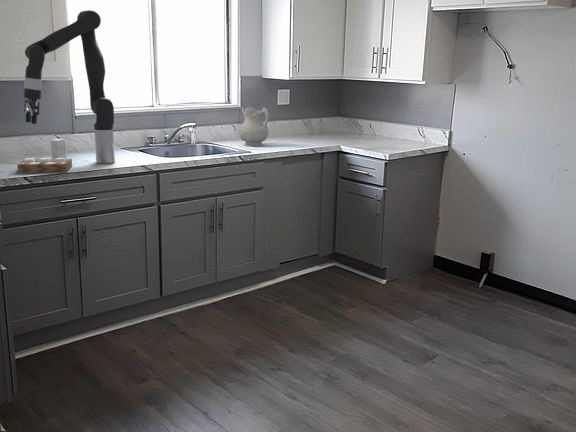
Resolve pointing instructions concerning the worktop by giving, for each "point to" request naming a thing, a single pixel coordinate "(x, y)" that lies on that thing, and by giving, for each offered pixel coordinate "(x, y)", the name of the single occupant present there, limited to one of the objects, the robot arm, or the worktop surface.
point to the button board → (44, 166)
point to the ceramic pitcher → (254, 126)
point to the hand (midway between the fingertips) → (30, 123)
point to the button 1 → (29, 160)
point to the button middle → (45, 160)
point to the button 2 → (60, 159)
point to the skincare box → (58, 148)
